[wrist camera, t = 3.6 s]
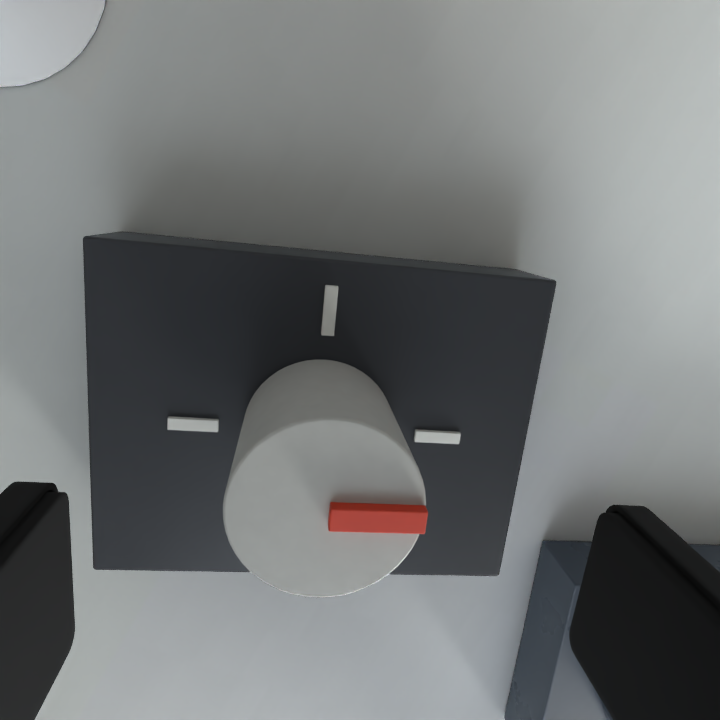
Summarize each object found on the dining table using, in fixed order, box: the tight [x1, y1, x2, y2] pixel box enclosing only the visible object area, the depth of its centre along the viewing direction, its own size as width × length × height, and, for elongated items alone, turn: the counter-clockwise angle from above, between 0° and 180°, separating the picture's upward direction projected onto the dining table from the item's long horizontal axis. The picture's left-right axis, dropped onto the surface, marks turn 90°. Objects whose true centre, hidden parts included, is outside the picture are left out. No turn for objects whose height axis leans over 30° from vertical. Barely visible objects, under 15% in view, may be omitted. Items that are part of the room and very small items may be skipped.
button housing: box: [505, 541, 720, 720], centre depth 21 cm, size 11×9×4 cm
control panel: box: [83, 232, 556, 576], centre depth 17 cm, size 13×10×3 cm
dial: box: [223, 360, 428, 598], centre depth 14 cm, size 4×4×5 cm
